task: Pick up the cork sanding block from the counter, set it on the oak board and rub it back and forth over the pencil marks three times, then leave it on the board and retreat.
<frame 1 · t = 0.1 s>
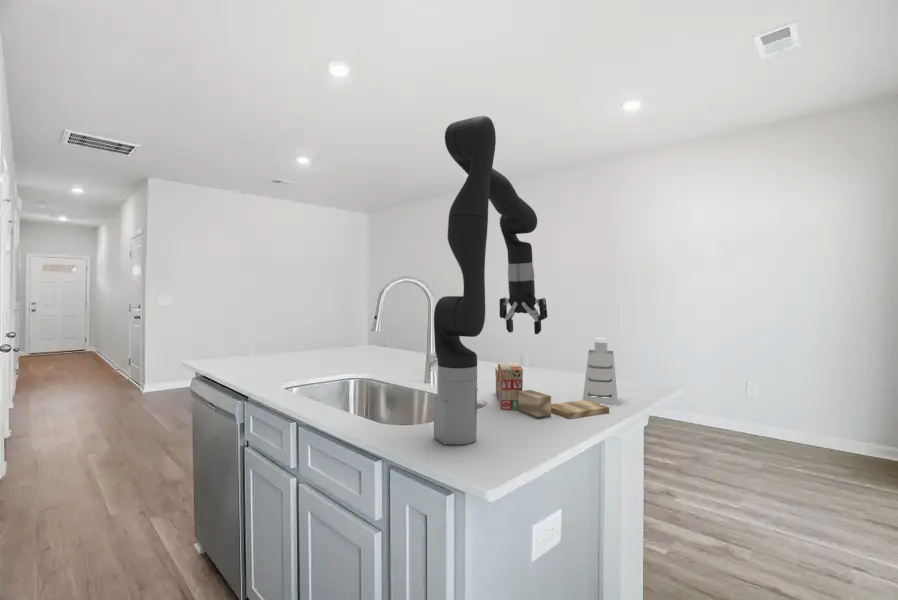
hand: (523, 332, 137), 22 cm above the worktop, tool pointing down, fingers open, 8 cm apart
sanding block: (534, 414, 130), on the worktop
board: (577, 411, 133), on the worktop
grater: (600, 401, 147), on the worktop
stack of blocks: (507, 402, 145), on the worktop
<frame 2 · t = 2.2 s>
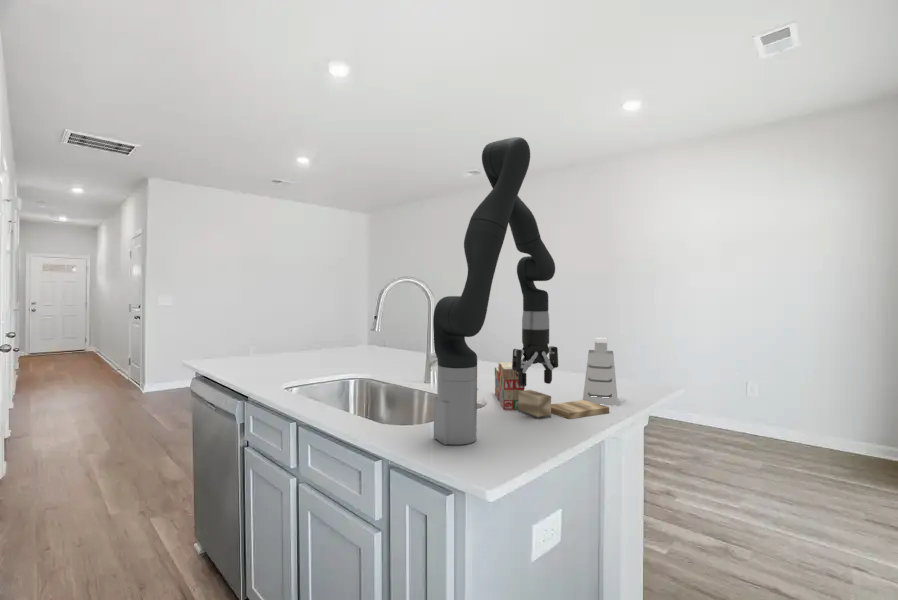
hand: (535, 384, 130), 8 cm above the worktop, tool pointing down, fingers open, 8 cm apart
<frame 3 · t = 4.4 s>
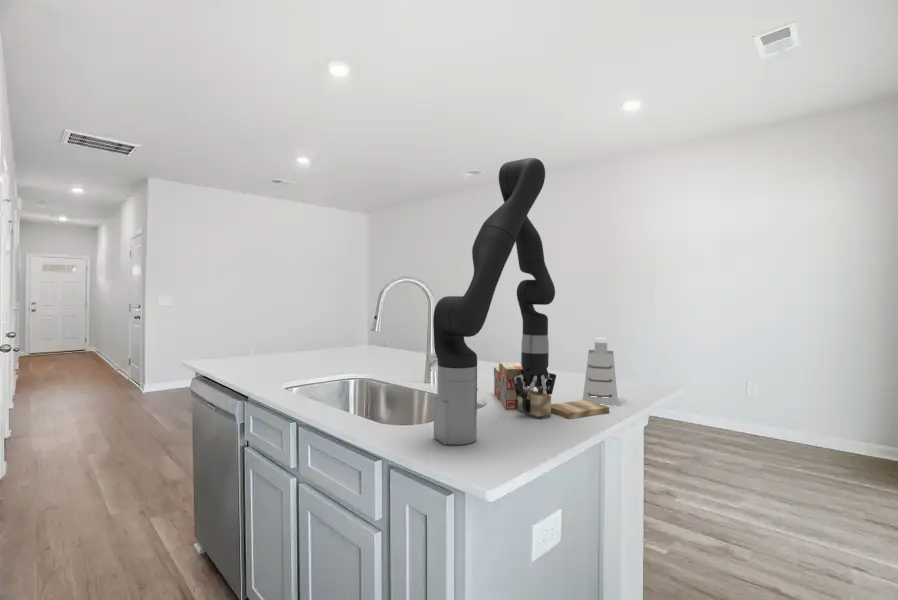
hand: (534, 410, 130), 1 cm above the worktop, tool pointing down, fingers closed on sanding block, 4 cm apart
sanding block: (534, 414, 130), on the worktop, touching gripper
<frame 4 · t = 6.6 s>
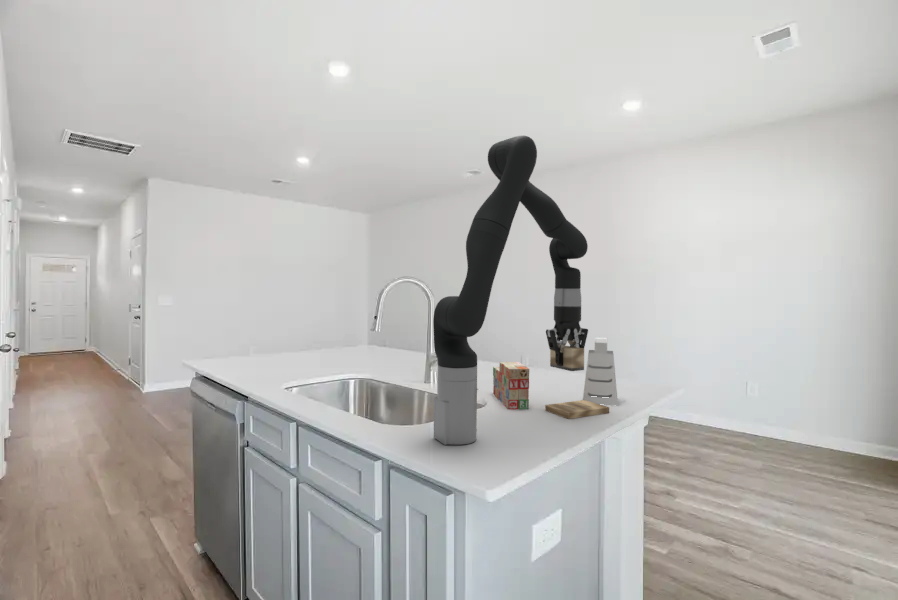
hand: (566, 364, 131), 14 cm above the worktop, tool pointing down, fingers closed on sanding block, 4 cm apart
sanding block: (566, 368, 131), point 13 cm above the worktop, touching gripper
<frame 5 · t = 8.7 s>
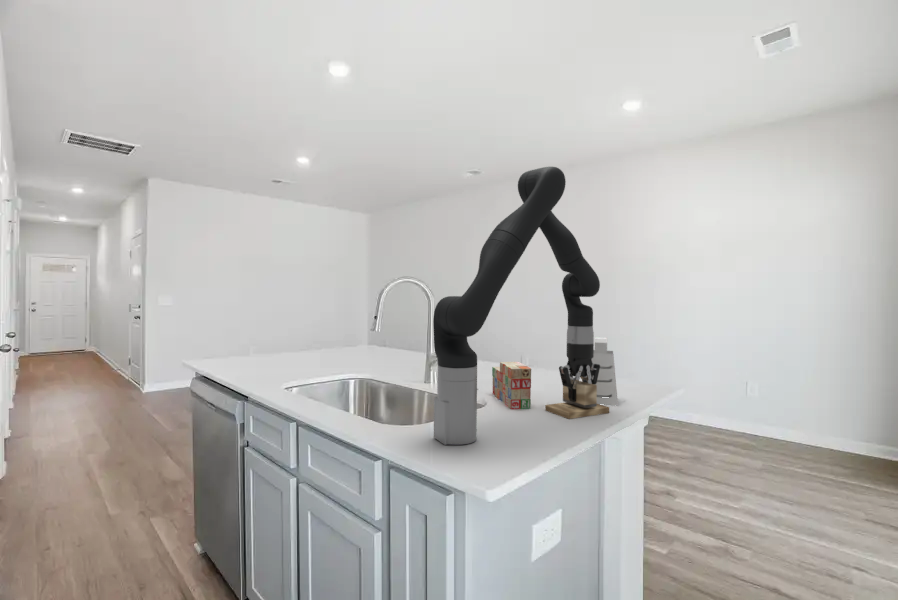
hand: (579, 400, 134), 3 cm above the worktop, tool pointing down, fingers closed on sanding block, 4 cm apart
sanding block: (579, 403, 134), point 2 cm above the worktop, touching gripper
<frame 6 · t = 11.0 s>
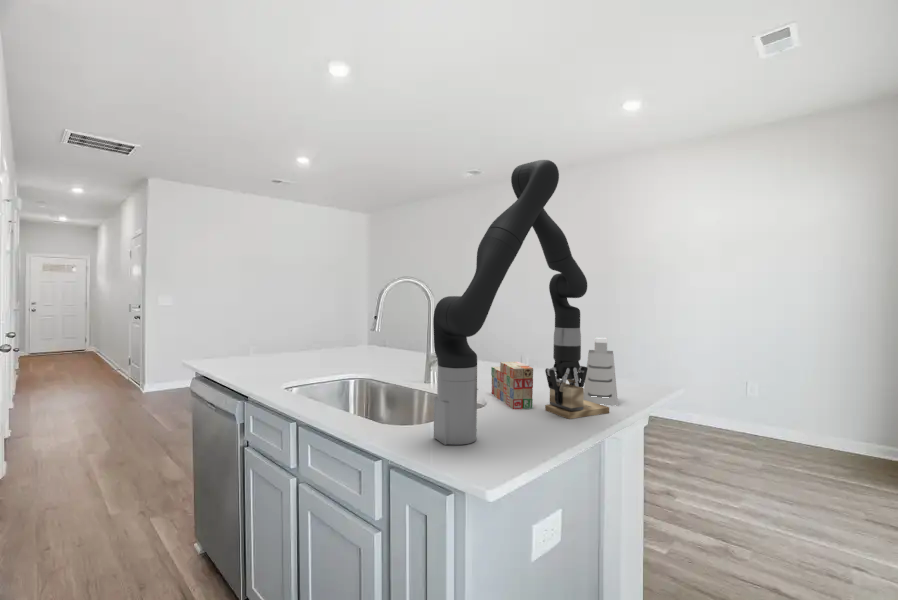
hand: (566, 403, 132), 3 cm above the worktop, tool pointing down, fingers closed on sanding block, 4 cm apart
sanding block: (566, 406, 132), point 2 cm above the worktop, touching gripper
when the fingers open (3 cm above the worktop, at t = 12.9 s): sanding block stays where it is, resting on board.
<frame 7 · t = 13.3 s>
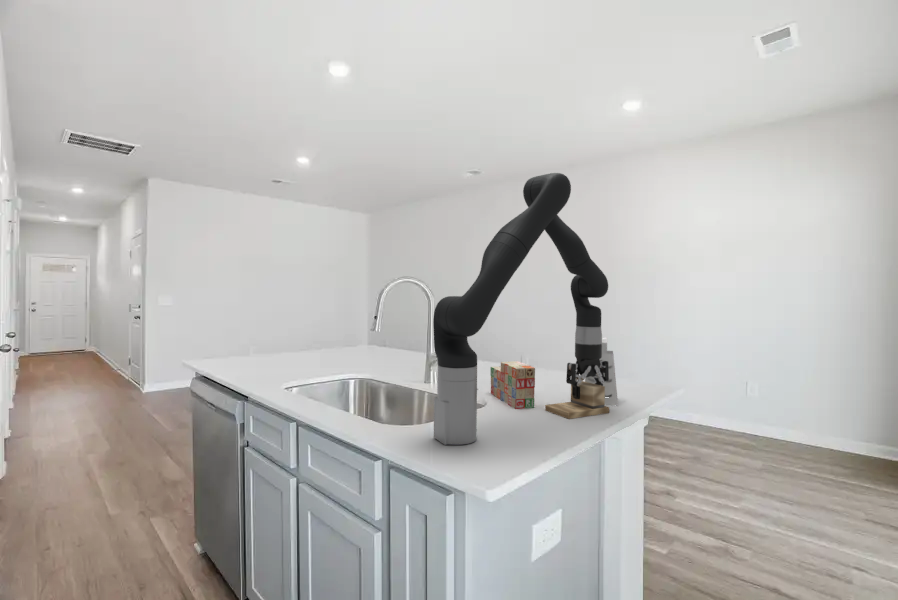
hand: (587, 397, 135), 4 cm above the worktop, tool pointing down, fingers open, 8 cm apart
sanding block: (587, 404, 135), point 2 cm above the worktop, touching board
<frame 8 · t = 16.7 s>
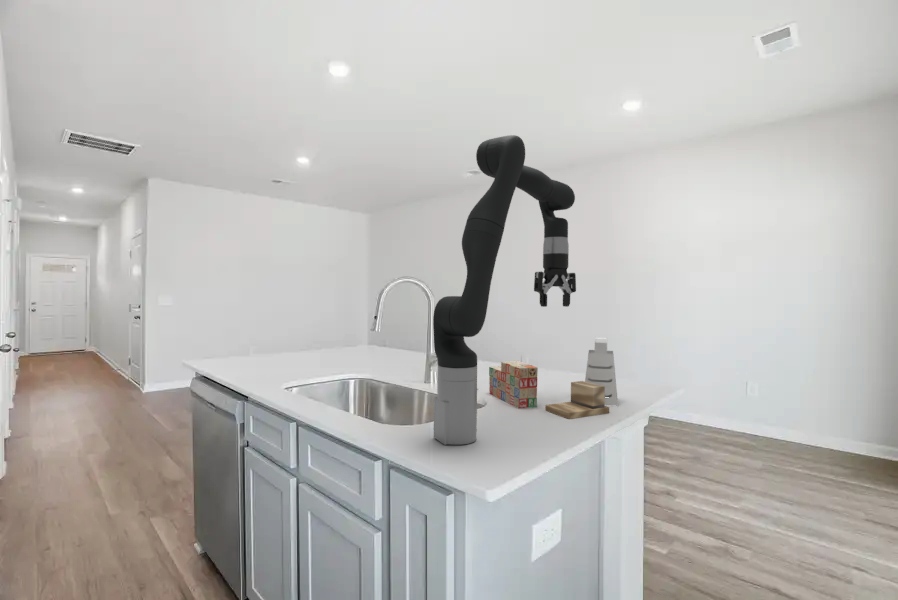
hand: (555, 306, 140), 30 cm above the worktop, tool pointing down, fingers open, 8 cm apart
at the end: sanding block inside the target area on the board (3.9 cm from its centre), point 1.6 cm above the board's base; sanding block tilted 0°; the gripper is holding nothing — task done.
